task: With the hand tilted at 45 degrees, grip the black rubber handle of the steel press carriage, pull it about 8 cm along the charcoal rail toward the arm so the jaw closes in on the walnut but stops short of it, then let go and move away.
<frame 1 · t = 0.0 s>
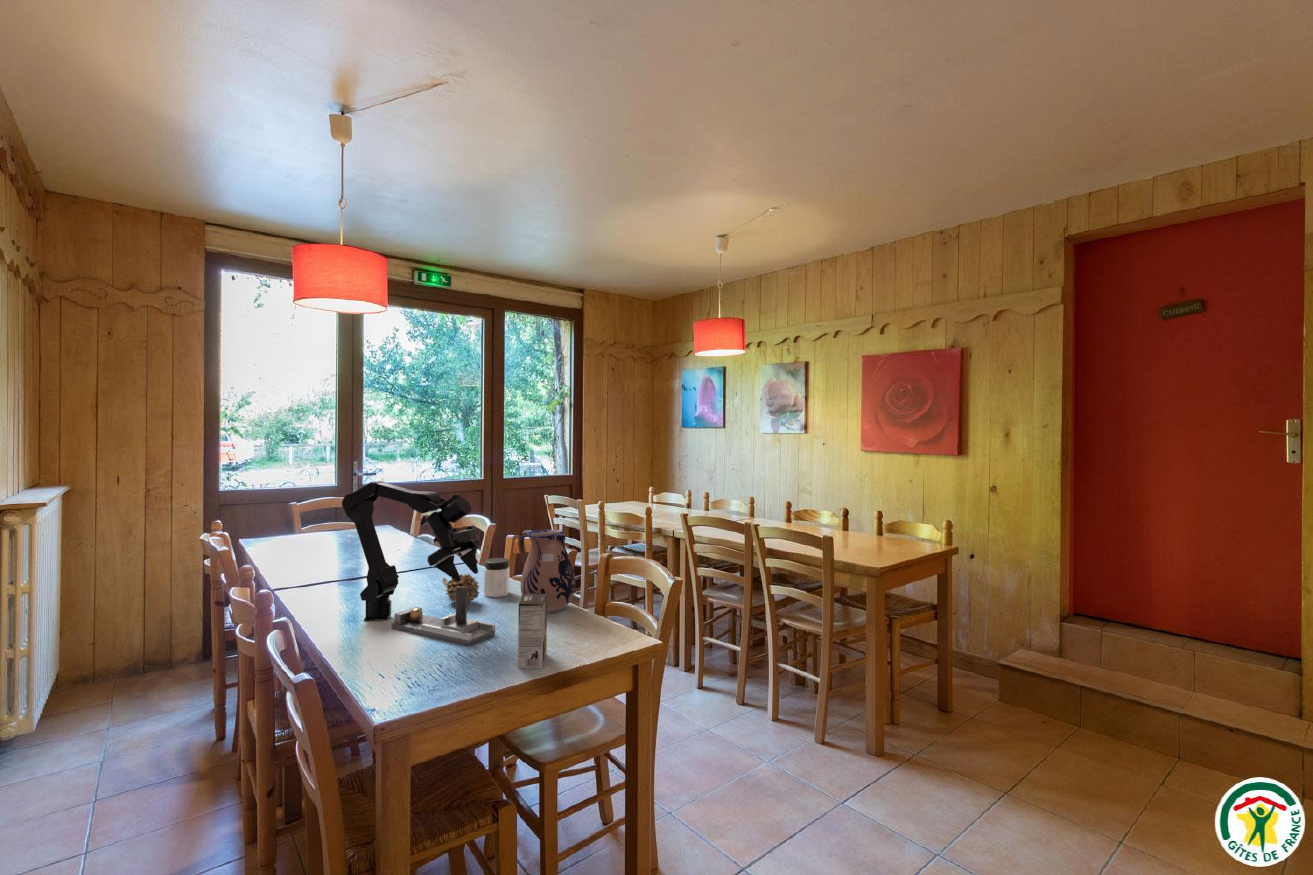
hand: (468, 576, 179), 15 cm above the table, tool tilted 35°, fingers open, 9 cm apart
ceramic pitcher: (543, 608, 199), on the table
coffee box: (532, 662, 154), on the table
carriage: (459, 608, 172), point 8 cm above the table, slide at 0.0 cm
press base: (442, 631, 175), on the table
jar: (496, 594, 215), on the table
pine cone: (456, 601, 206), on the table
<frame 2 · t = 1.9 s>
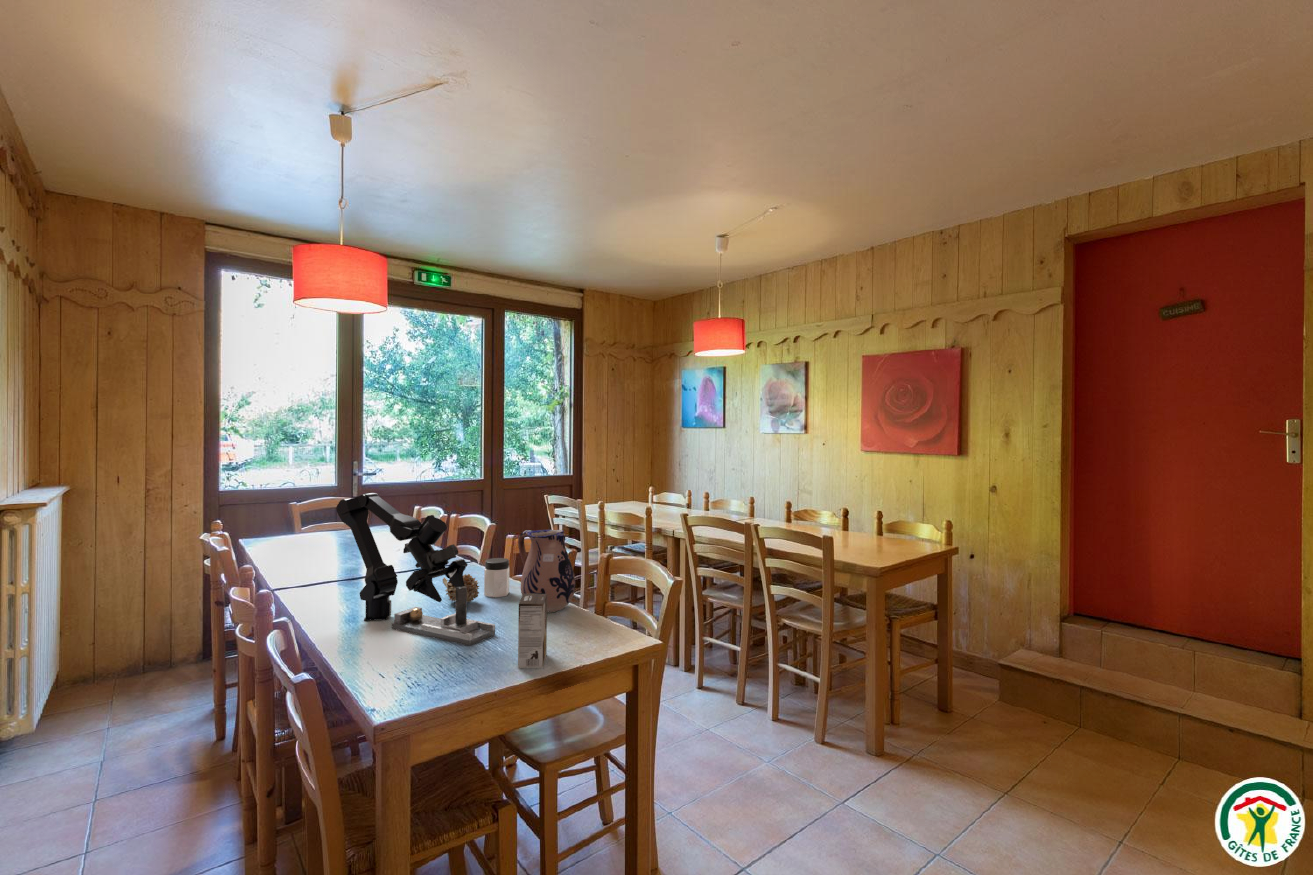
hand: (453, 597, 173), 10 cm above the table, tool tilted 45°, fingers open, 9 cm apart
nothing on the table moved.
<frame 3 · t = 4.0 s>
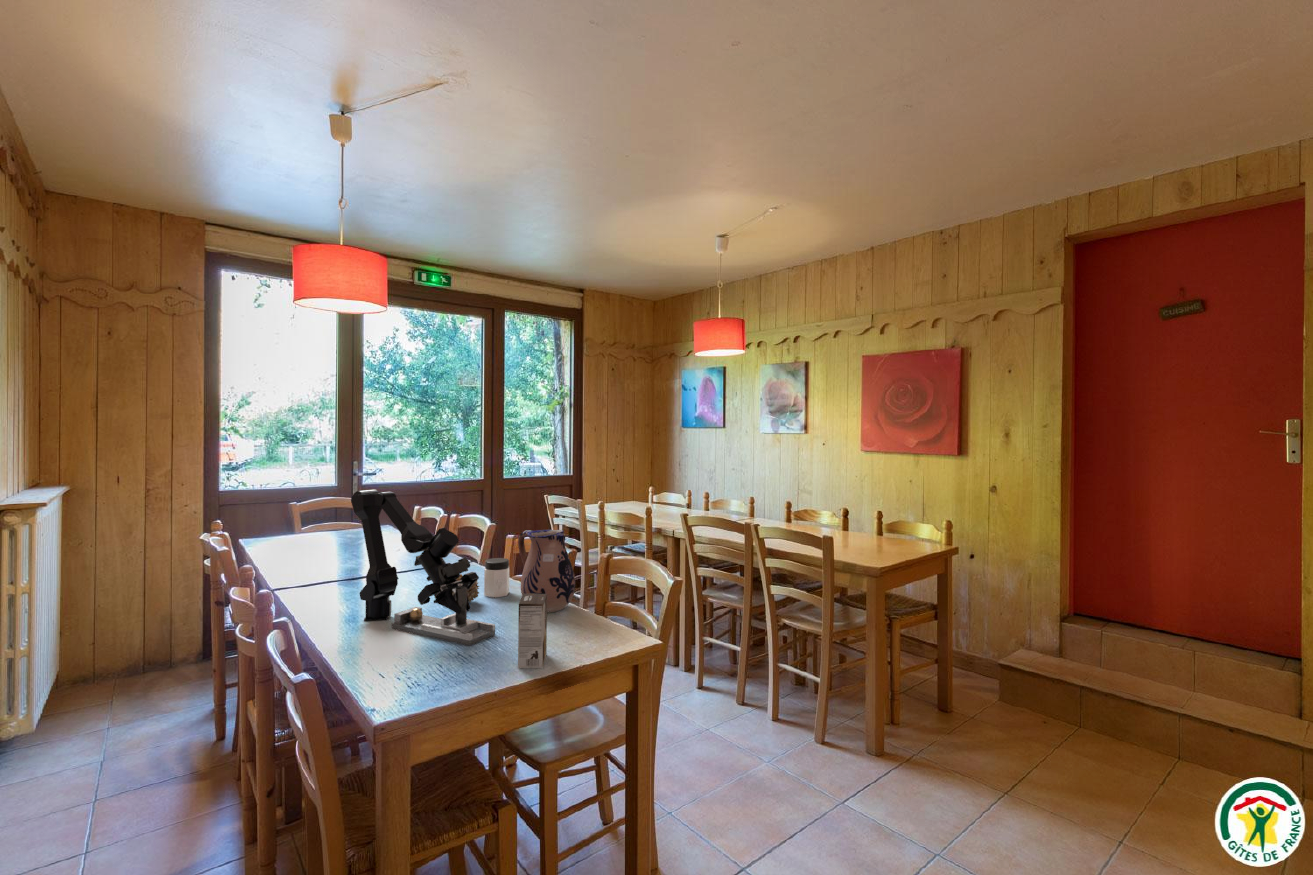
hand: (464, 611, 171), 7 cm above the table, tool tilted 45°, fingers closed on carriage, 3 cm apart
carriage: (459, 608, 172), point 8 cm above the table, slide at 0.0 cm, touching gripper
everything else where it was.
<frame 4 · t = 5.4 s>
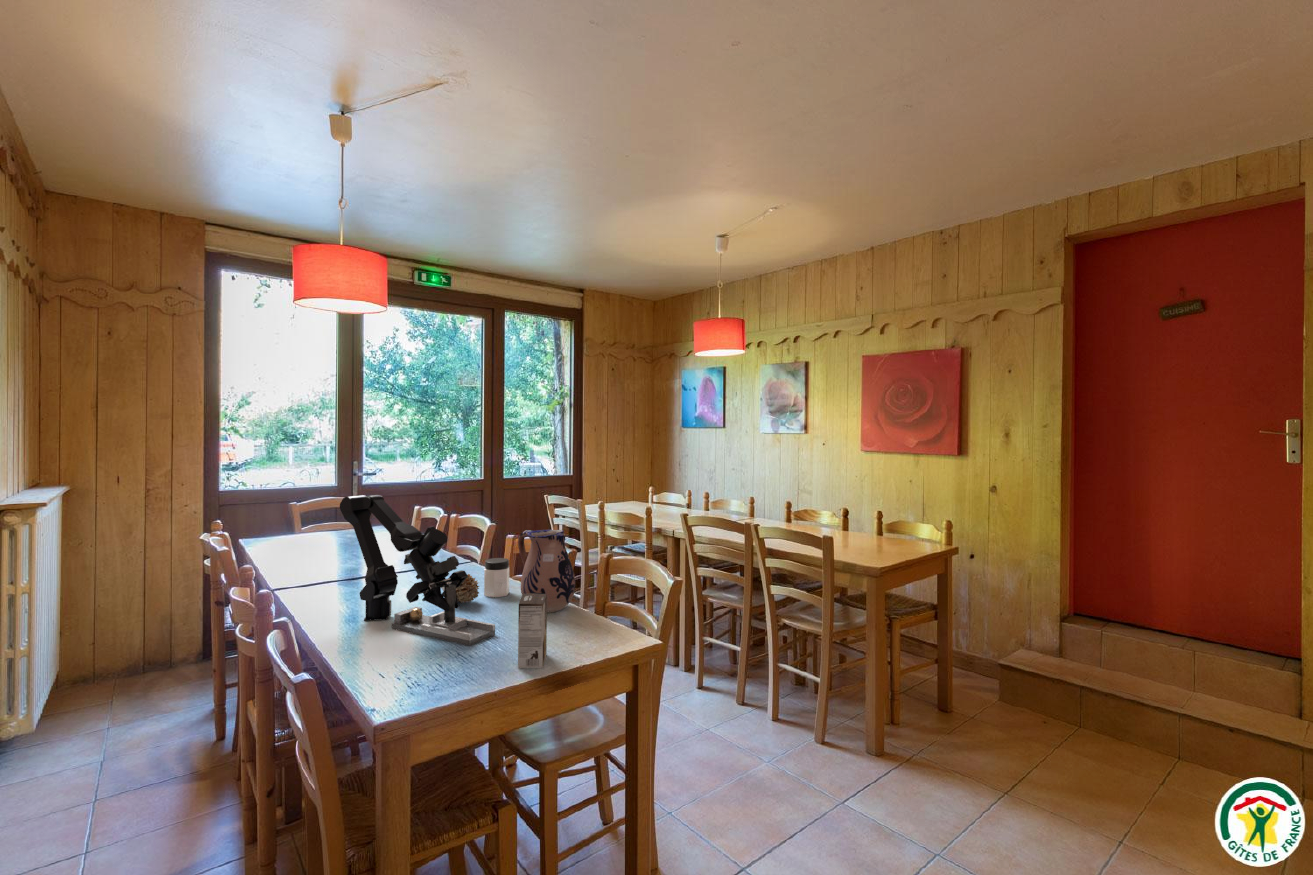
hand: (453, 609, 173), 7 cm above the table, tool tilted 45°, fingers closed on carriage, 3 cm apart
carriage: (448, 606, 174), point 8 cm above the table, slide at 4.3 cm, touching gripper
everything else where it was.
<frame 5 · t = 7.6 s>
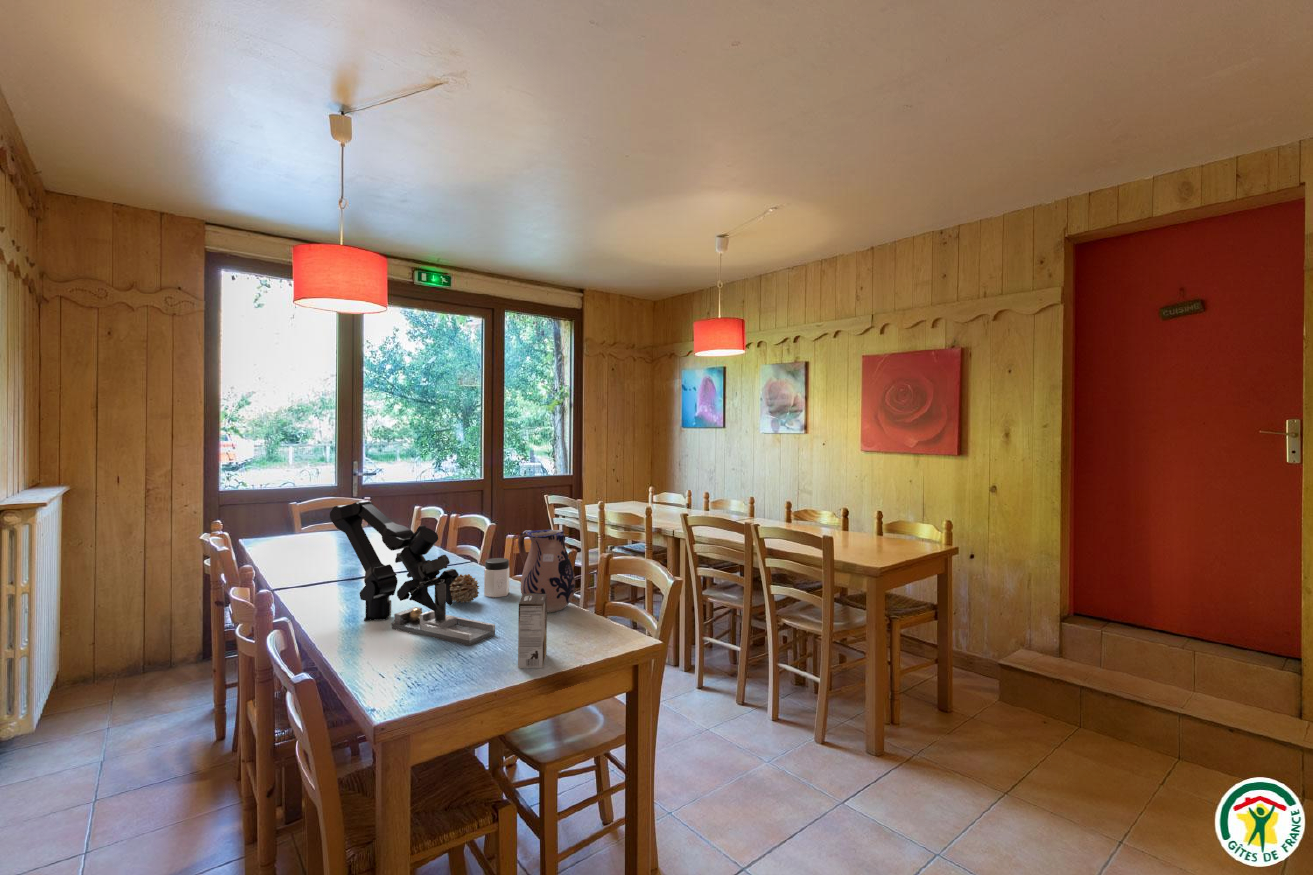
hand: (443, 607, 175), 7 cm above the table, tool tilted 45°, fingers open, 6 cm apart
carriage: (438, 604, 176), point 8 cm above the table, slide at 8.0 cm
everything else where it was.
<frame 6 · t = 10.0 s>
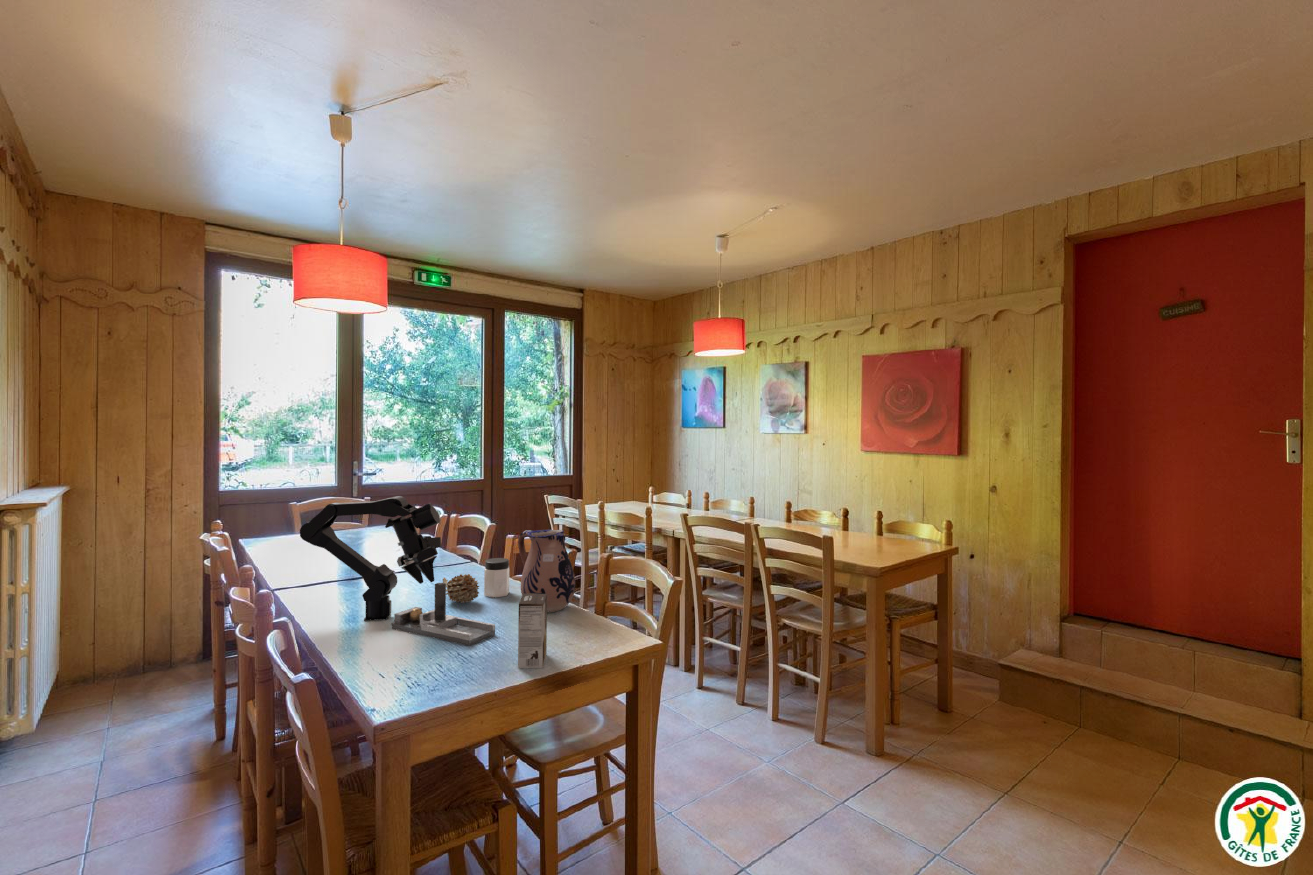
hand: (427, 582, 188), 11 cm above the table, tool tilted 20°, fingers open, 9 cm apart
nothing on the table moved.
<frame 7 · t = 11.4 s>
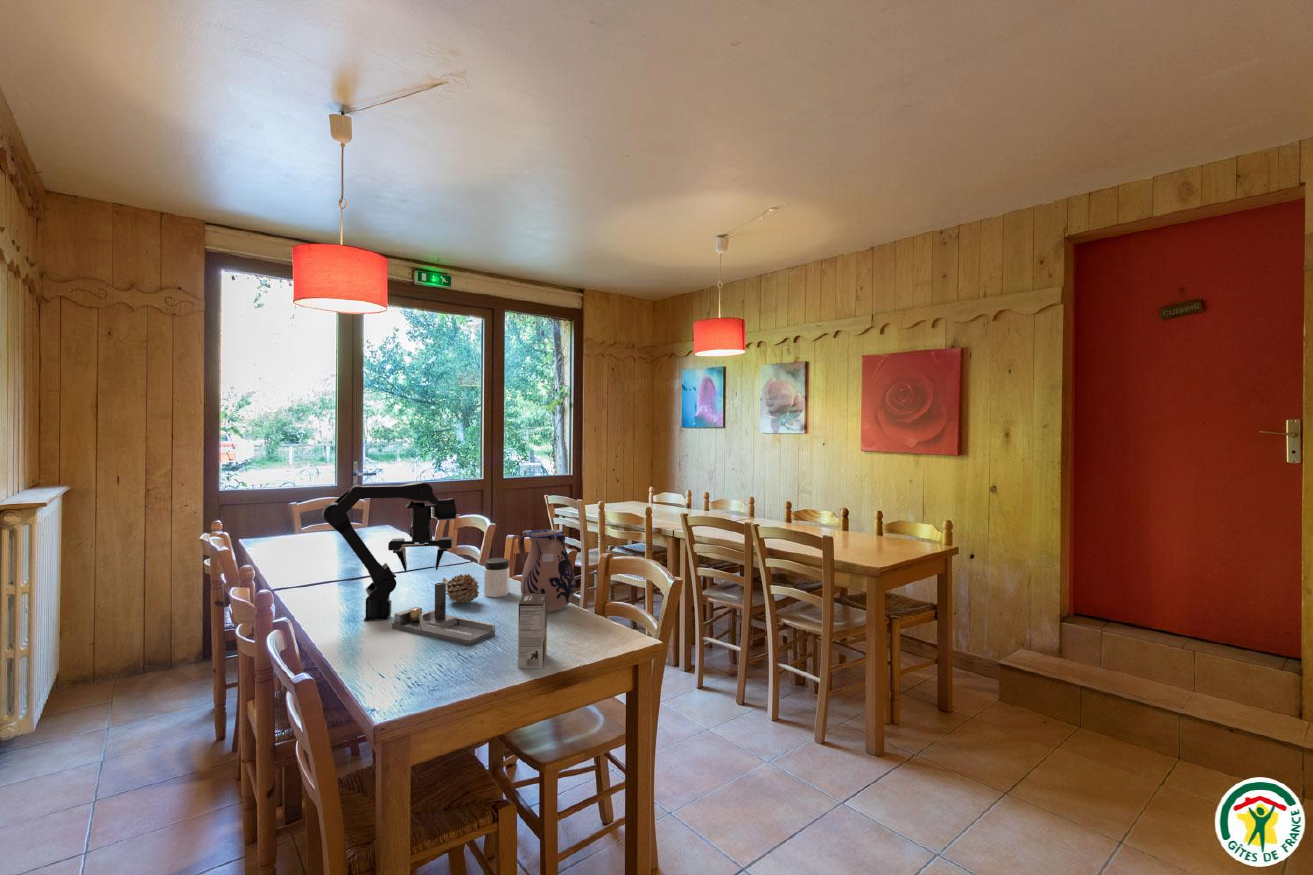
hand: (421, 570, 194), 13 cm above the table, tool pointing down, fingers open, 9 cm apart
nothing on the table moved.
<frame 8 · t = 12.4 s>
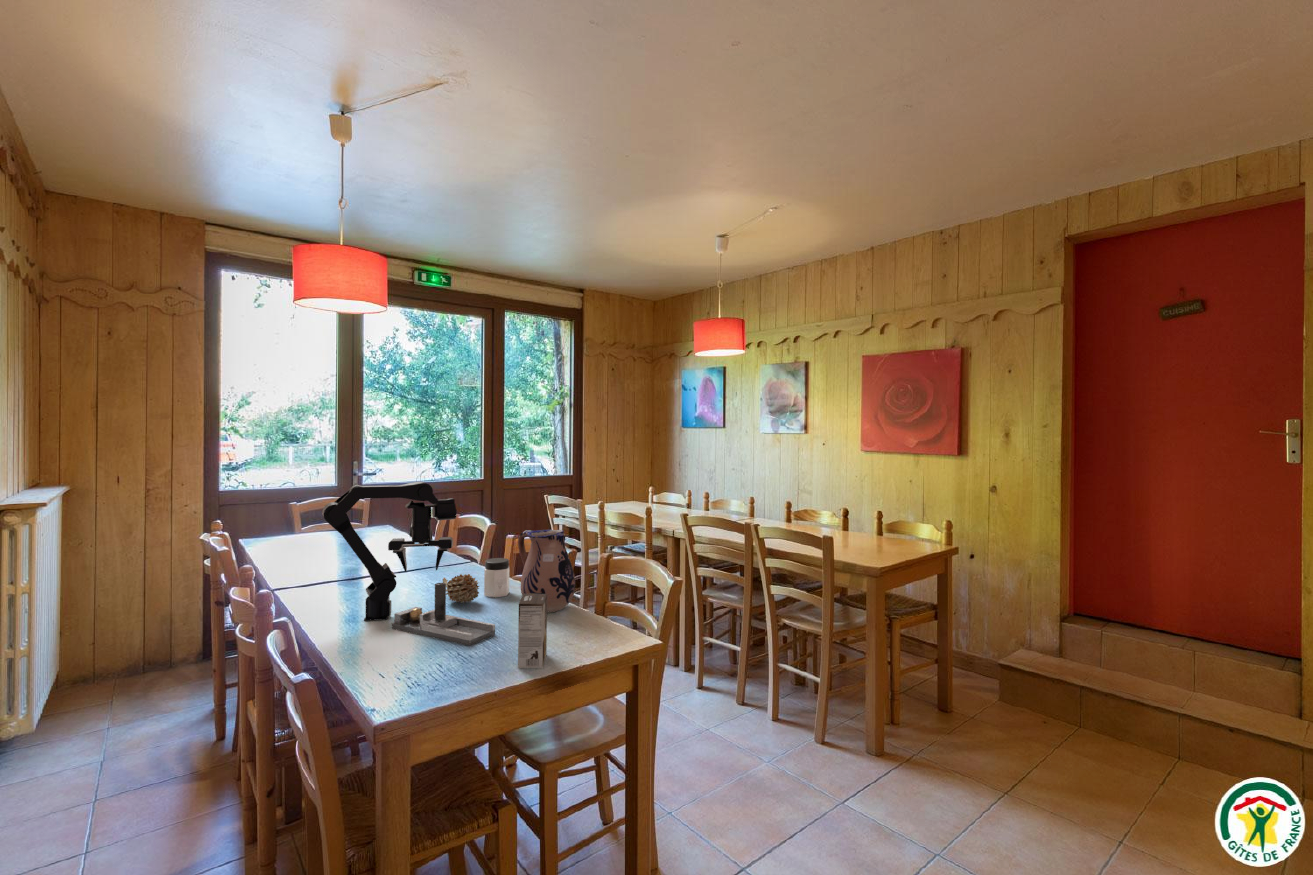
hand: (421, 570, 194), 13 cm above the table, tool pointing down, fingers open, 9 cm apart
nothing on the table moved.
at the end: carriage slide at 8.0 cm; the gripper is holding nothing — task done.
